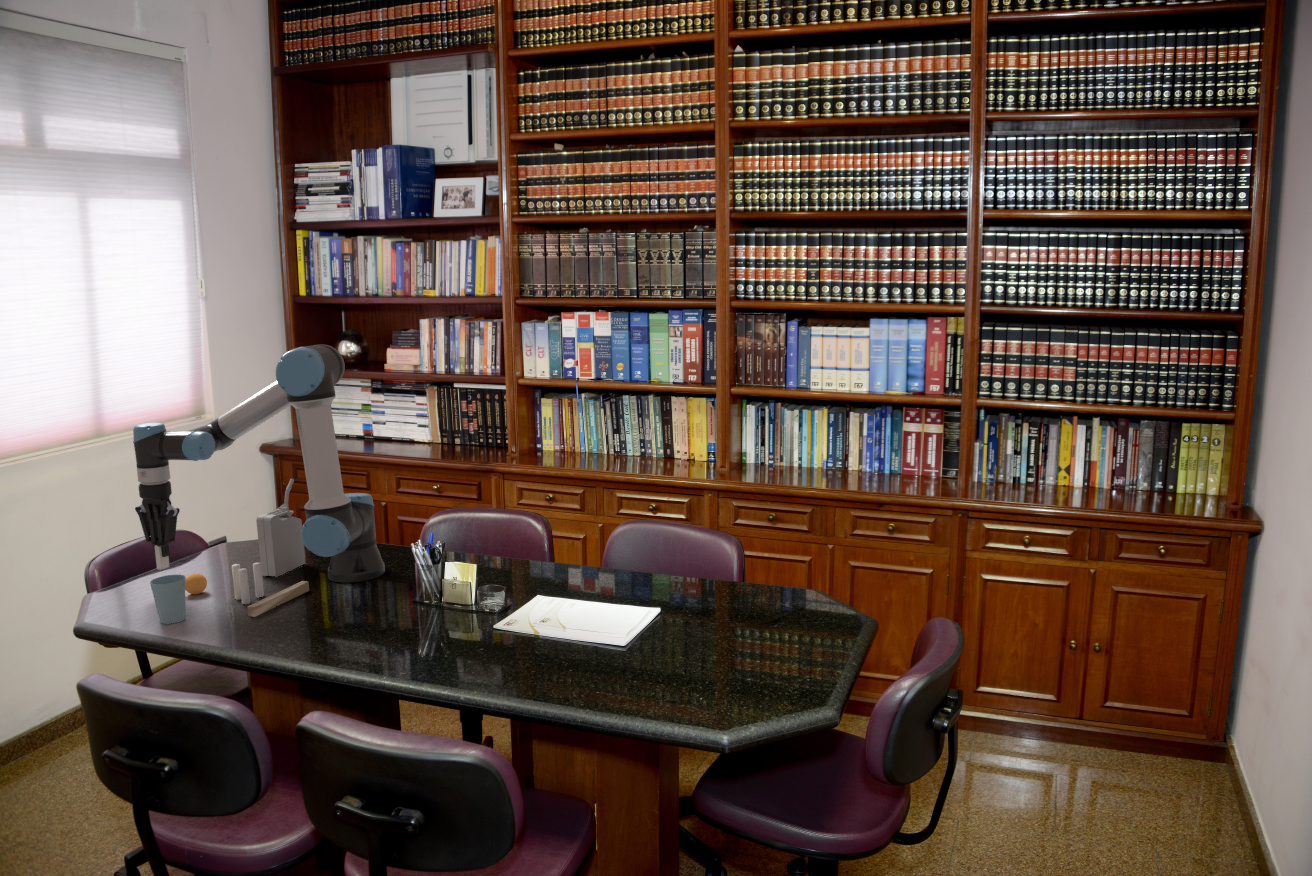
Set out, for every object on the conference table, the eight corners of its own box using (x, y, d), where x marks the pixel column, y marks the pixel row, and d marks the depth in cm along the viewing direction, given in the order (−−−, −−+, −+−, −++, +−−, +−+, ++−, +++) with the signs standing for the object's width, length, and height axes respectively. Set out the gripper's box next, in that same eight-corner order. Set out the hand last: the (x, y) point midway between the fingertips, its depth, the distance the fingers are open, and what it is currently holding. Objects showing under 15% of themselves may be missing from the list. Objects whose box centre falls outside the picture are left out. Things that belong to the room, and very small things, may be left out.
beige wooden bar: (309, 590, 247) (308, 581, 246) (255, 616, 228) (254, 607, 228) (303, 590, 247) (302, 580, 247) (248, 616, 229) (247, 606, 228)
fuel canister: (297, 560, 274) (289, 477, 269) (311, 561, 272) (304, 478, 268) (261, 576, 259) (252, 489, 255) (275, 578, 258) (267, 490, 254)
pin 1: (252, 602, 239) (248, 568, 237) (246, 604, 237) (242, 571, 235) (245, 601, 239) (242, 568, 238) (240, 604, 237) (236, 570, 236)
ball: (212, 591, 248) (210, 571, 247) (196, 598, 243) (194, 577, 242) (196, 589, 250) (194, 569, 249) (180, 596, 245) (178, 576, 244)
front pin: (245, 597, 242) (241, 564, 241) (239, 600, 241) (235, 566, 239) (238, 596, 243) (235, 563, 241) (233, 599, 241) (229, 566, 240)
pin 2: (265, 595, 243) (262, 562, 242) (260, 598, 241) (257, 565, 240) (259, 595, 244) (256, 562, 242) (254, 597, 242) (250, 564, 241)
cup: (189, 622, 225) (184, 581, 223) (153, 628, 222) (148, 586, 220) (190, 612, 232) (186, 572, 230) (156, 618, 229) (151, 577, 227)
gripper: (123, 483, 243) (132, 569, 247) (162, 486, 239) (171, 574, 243) (147, 477, 250) (155, 561, 254) (185, 480, 246) (193, 566, 250)
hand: (163, 567), depth 248 cm, fingers closed
